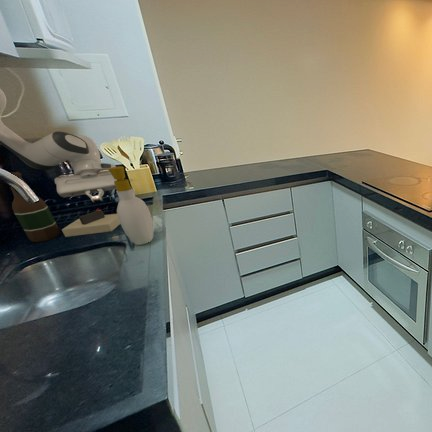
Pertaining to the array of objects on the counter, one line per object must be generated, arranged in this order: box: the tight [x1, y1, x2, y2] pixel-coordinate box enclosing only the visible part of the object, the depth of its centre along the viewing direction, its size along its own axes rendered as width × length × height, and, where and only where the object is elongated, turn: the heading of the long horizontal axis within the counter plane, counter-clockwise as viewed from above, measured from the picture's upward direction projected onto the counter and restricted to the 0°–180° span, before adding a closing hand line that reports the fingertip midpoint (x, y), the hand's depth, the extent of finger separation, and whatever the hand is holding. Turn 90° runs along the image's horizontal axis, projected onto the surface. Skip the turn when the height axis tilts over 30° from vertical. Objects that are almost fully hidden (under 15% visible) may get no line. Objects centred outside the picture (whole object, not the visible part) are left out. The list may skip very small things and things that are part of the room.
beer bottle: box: [9, 171, 61, 243], centre depth 101 cm, size 8×8×24 cm
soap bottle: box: [97, 165, 154, 246], centre depth 98 cm, size 14×9×26 cm, turn 34°
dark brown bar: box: [78, 209, 105, 225], centre depth 111 cm, size 7×1×3 cm, turn 167°
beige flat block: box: [61, 213, 121, 238], centre depth 112 cm, size 14×11×3 cm
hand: (96, 200), depth 117 cm, fingers closed
